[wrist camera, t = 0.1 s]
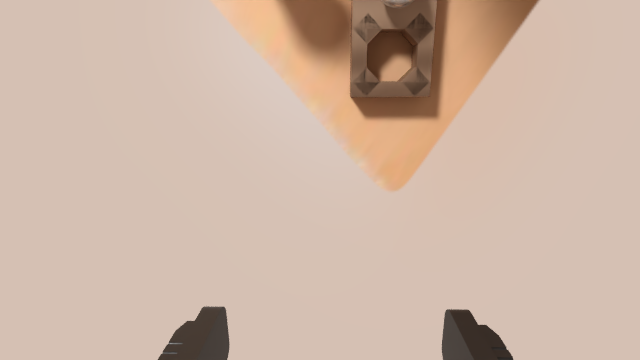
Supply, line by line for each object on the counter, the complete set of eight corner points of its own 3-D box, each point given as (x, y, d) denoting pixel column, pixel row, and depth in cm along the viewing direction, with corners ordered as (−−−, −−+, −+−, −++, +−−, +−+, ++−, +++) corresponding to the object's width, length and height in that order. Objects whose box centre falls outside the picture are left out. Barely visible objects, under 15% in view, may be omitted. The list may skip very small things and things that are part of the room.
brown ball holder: (353, -85, 34) (354, -98, 32) (436, -87, 34) (444, -100, 31) (350, 95, 39) (351, 97, 36) (423, 95, 39) (429, 96, 36)
